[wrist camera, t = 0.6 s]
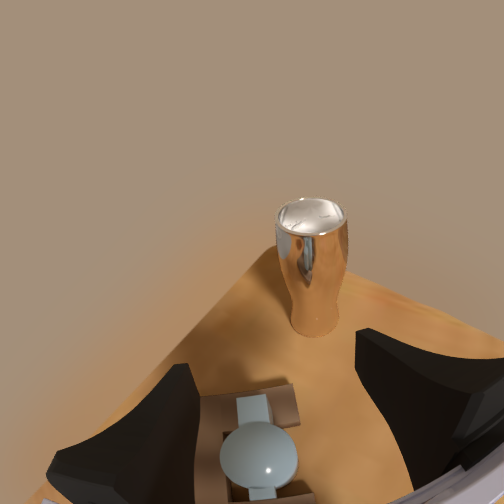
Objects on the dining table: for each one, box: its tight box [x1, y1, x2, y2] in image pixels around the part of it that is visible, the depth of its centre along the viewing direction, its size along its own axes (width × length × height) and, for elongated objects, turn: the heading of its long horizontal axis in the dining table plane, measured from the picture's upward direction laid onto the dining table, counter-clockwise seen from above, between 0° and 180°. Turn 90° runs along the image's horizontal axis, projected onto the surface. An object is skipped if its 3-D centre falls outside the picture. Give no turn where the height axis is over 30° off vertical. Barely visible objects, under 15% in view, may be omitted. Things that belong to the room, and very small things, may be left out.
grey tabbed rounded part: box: [220, 394, 299, 501], centre depth 19 cm, size 9×6×7 cm, turn 6°
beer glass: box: [275, 196, 348, 338], centre depth 29 cm, size 7×7×15 cm
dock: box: [194, 383, 316, 504], centre depth 20 cm, size 16×11×2 cm
